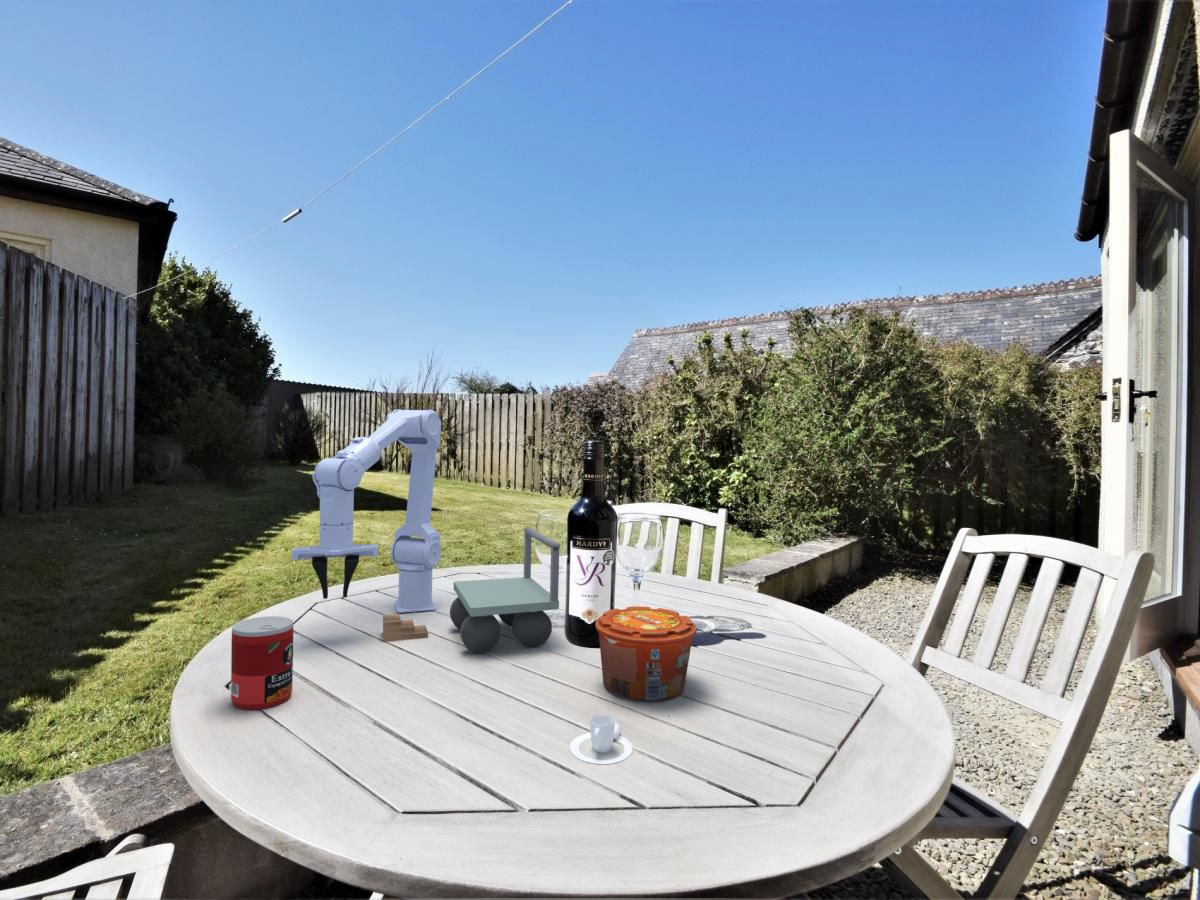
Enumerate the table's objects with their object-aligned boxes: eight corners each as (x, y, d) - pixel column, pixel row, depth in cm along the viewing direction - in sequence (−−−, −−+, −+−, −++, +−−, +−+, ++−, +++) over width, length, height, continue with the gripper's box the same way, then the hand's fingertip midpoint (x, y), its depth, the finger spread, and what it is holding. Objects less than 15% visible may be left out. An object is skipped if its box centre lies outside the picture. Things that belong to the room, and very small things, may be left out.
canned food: (274, 711, 85) (276, 633, 85) (218, 709, 85) (219, 631, 85) (302, 689, 93) (304, 616, 93) (250, 687, 93) (251, 615, 93)
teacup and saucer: (600, 727, 84) (601, 698, 84) (648, 747, 79) (649, 716, 79) (556, 752, 77) (557, 719, 77) (605, 775, 72) (606, 741, 72)
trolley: (447, 626, 125) (449, 529, 124) (529, 618, 131) (531, 526, 131) (464, 660, 106) (466, 546, 106) (557, 650, 113) (560, 542, 112)
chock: (382, 635, 119) (383, 615, 119) (425, 631, 122) (425, 611, 122) (383, 643, 115) (384, 622, 115) (428, 639, 118) (428, 619, 117)
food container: (709, 680, 100) (711, 615, 100) (669, 718, 86) (671, 642, 86) (623, 660, 108) (625, 599, 108) (574, 691, 95) (575, 622, 94)
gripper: (290, 527, 107) (289, 605, 107) (379, 525, 112) (377, 599, 113) (294, 522, 113) (293, 595, 114) (377, 520, 119) (376, 590, 119)
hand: (335, 596), depth 114 cm, fingers open, 3 cm apart
